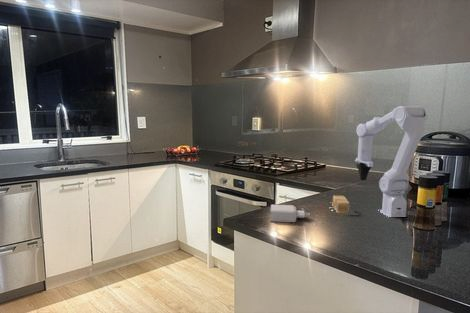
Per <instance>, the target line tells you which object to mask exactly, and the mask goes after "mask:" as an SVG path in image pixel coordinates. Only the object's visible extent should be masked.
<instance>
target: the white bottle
mask: <svg viewBox="0 0 470 313" xmlns="http://www.w3.org/2000/svg"><path fill="white" fill-rule="evenodd" d="M306 216H311V213H310V212H305V210H297V208H296V206H294V205H292V204H291V205H289V204H288V205H287V204H270V218H269V219H270V220H269V221H270V222H273V223H290V222H293V223H296V222H297V219H305V217H306Z"/></svg>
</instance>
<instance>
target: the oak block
mask: <svg viewBox="0 0 470 313" xmlns="http://www.w3.org/2000/svg"><path fill="white" fill-rule="evenodd" d="M331 203H332V206H333V207H334V209H335V210H336V212H337V213H348V211H349V207H350V201H348V199H347V198H346V197H345V195H333V196H332V202H331Z"/></svg>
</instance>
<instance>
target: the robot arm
mask: <svg viewBox="0 0 470 313" xmlns="http://www.w3.org/2000/svg"><path fill="white" fill-rule="evenodd" d="M427 118H428V114H427V111H426V109H425V108H424V106H421V105H418V106H407V105H406V106H404V105H399V106H397V107H395V108H393V110H392V111H390V112H389V113H387V114H385V115H383V116H382V117H381V116H374V117H373V119H371V120H368V121H366V123H359V124H358V125H357V126H356V130H355V131H356V134H357V136H358V143H357V144H358V145H357V146H358V147H357V157H355V159H354V162H356V164H355V165H356V167H357V170H358V174H359V175H358V176H359V179H360V180H361V181H366V180H367V178H368V174H369V172H370V170H371V169H372V167H374V162H373V161H372V150H373V148H372V147H373V141H374V139H375V135H376V133H378V132H381V131H383V130H384V129H385V128H386V127H387V125H389V124H392V123H394V122H396V123H397V125H398V126H399V127H400V129H401V130H402V131H403V132H404V135H403V138H402V140H401V142H400V146H399V149H398V151H397V153H396V155H395V158H394V161H393V164H392V165H391V168H390V169H388V170H387V171H386V172H384V174H383V175H382V177H381V178H380V179H379V182H378V186H379V189H380V191H381V193H382V205H381V206H382V208H381V209H377V211H378V212H379V210H380V212H379V213H381V214H382V213H383V214H382V215H384V216H385V215H386V216H385V217H387V216H388V217H387V218H389V217H406V216H407V206H408V205H407V204H408V203H407V200H406V198H405V196H404V194H405V191H407V190H408V189H409V180H411V179H410V176H409V174H408V173H407V172H408V171H409V170H408V169H409V167H410V164H411V162H412V160H413V158H414V155H415V153H416V150H417V149H418V146H419V144H420V141H421V138H422V136H423V134H424V128H425V124H426V121H427Z"/></svg>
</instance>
